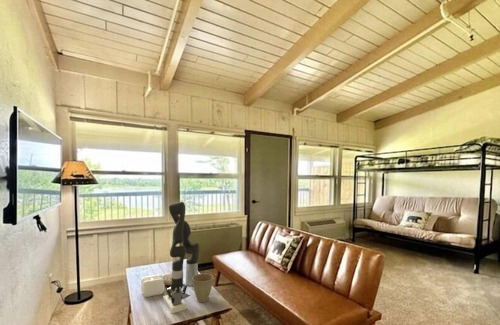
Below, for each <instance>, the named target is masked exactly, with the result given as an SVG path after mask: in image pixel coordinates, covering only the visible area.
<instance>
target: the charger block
mask: <svg viewBox="0 0 500 325" xmlns="http://www.w3.org/2000/svg"><path fill="white" fill-rule="evenodd" d="M172 304H173V306H176V305H180V304H181V292H180V291H179V292H176V293H175V294H174V303H172Z"/></svg>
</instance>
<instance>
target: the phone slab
mask: <svg viewBox="0 0 500 325" xmlns="http://www.w3.org/2000/svg"><path fill="white" fill-rule="evenodd" d="M190 296H191V295H190V294H188V293H186V292H185V294H183V295H182V299H183V300H184V299H185V298H188V297H190Z"/></svg>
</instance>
